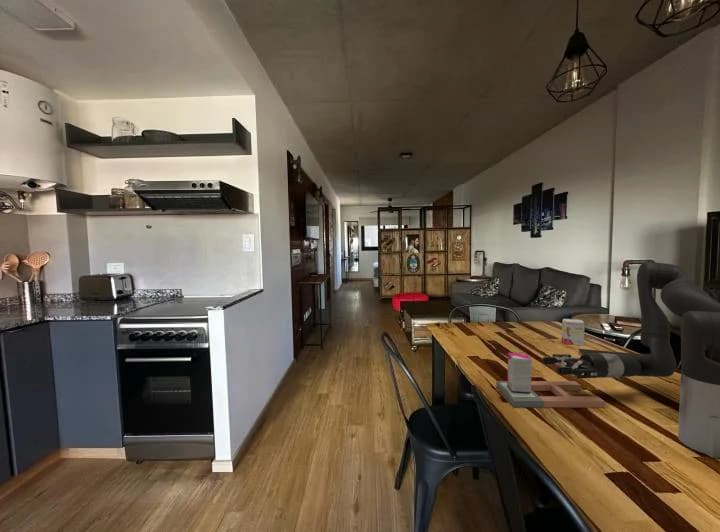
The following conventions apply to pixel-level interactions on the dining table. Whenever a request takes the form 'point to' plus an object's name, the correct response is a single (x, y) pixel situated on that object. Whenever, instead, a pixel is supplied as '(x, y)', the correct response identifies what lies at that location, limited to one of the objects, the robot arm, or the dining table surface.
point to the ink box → (573, 332)
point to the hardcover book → (583, 351)
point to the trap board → (550, 401)
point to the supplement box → (519, 373)
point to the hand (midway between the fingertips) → (550, 365)
